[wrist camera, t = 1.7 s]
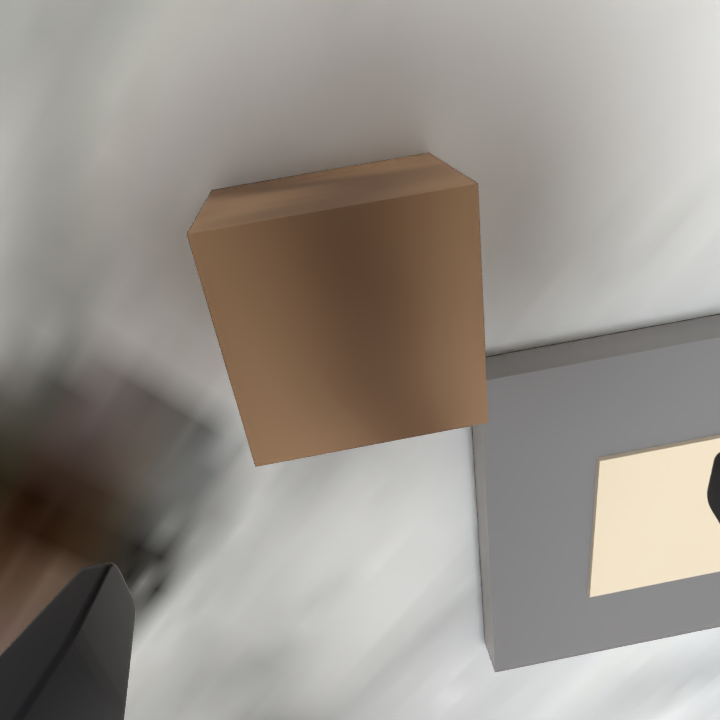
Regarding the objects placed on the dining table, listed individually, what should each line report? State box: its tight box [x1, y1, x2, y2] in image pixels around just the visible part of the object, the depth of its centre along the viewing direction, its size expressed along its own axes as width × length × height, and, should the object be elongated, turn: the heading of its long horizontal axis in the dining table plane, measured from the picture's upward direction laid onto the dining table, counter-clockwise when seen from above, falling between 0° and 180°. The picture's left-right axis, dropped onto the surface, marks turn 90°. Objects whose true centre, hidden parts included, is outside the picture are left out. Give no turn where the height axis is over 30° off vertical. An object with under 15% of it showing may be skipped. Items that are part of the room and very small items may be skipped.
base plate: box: [472, 314, 720, 672], centre depth 24 cm, size 16×16×2 cm
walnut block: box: [187, 153, 488, 467], centre depth 16 cm, size 6×6×5 cm
